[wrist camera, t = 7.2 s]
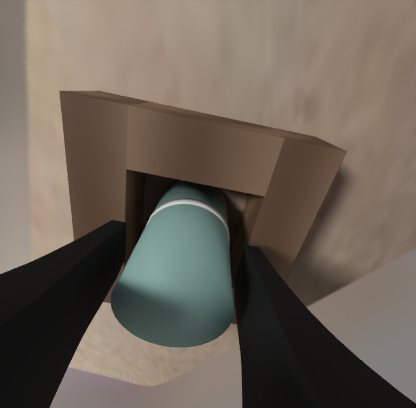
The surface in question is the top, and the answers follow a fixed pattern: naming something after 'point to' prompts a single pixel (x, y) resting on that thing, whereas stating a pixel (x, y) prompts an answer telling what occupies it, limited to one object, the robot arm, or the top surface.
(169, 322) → the peg
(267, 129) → the stand
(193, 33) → the top surface
